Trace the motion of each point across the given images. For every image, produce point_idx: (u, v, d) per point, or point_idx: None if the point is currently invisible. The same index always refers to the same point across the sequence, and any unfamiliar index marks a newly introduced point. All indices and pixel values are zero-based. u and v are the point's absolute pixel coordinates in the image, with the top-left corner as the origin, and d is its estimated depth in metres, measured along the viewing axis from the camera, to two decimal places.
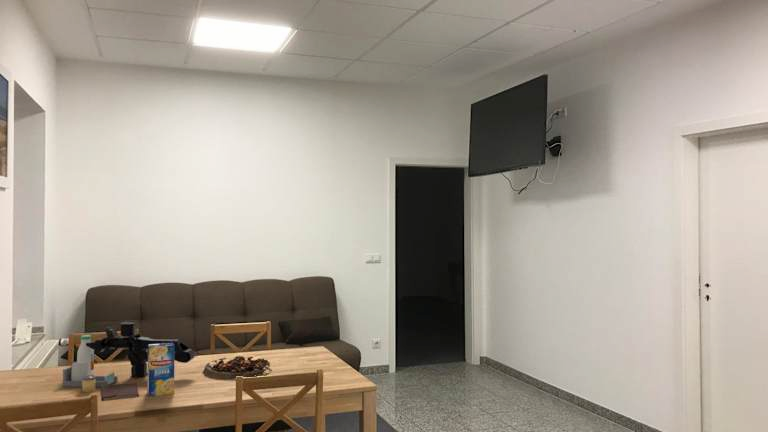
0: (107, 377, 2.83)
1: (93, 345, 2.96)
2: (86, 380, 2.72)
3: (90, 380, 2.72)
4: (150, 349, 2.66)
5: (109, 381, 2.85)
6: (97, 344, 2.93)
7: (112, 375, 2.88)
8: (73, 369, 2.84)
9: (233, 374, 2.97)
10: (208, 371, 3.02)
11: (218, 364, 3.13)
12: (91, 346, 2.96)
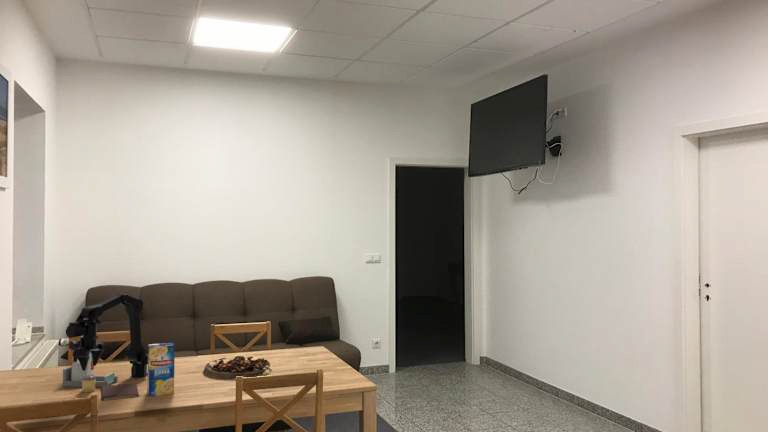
0: (107, 377, 2.83)
1: (83, 361, 2.69)
2: (86, 380, 2.72)
3: (90, 380, 2.72)
4: (150, 349, 2.66)
5: (109, 381, 2.85)
6: (76, 354, 2.66)
7: (112, 375, 2.88)
8: (73, 369, 2.84)
9: (233, 374, 2.96)
10: (208, 371, 3.02)
11: (218, 364, 3.13)
12: (84, 363, 2.69)
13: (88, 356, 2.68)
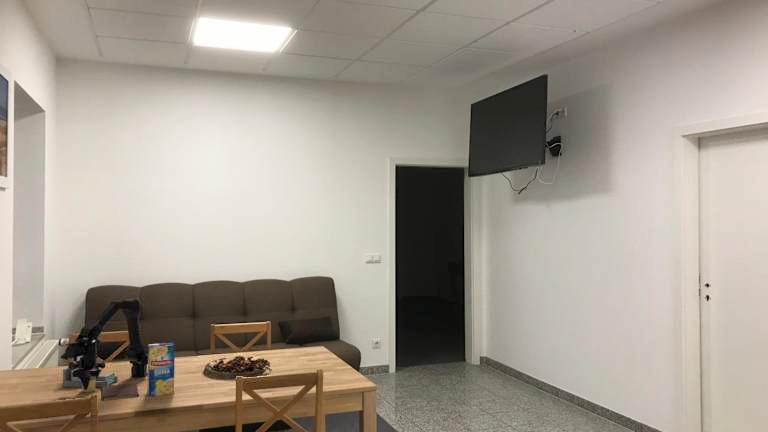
0: (107, 377, 2.83)
1: (84, 380, 2.71)
2: None
3: (90, 380, 2.72)
4: (150, 349, 2.66)
5: (109, 381, 2.85)
6: (75, 374, 2.65)
7: (112, 375, 2.88)
8: None
9: (233, 374, 2.96)
10: (208, 371, 3.02)
11: (218, 364, 3.13)
12: (86, 382, 2.71)
13: (90, 375, 2.70)
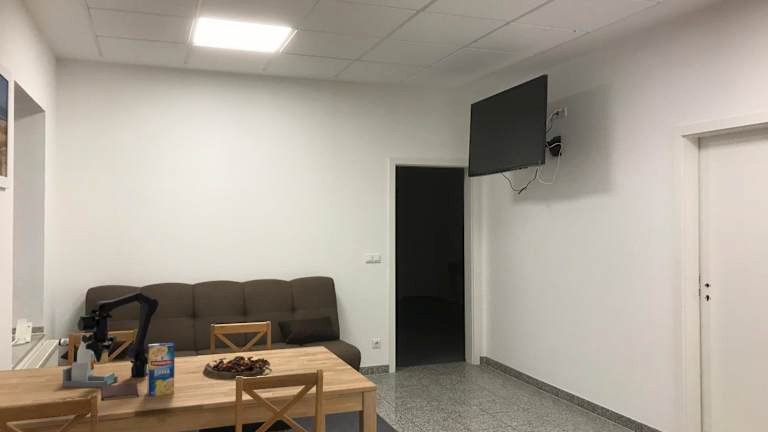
0: (107, 377, 2.83)
1: (97, 353, 2.82)
2: None
3: (102, 353, 2.83)
4: (150, 349, 2.66)
5: (109, 381, 2.85)
6: (89, 347, 2.76)
7: (112, 375, 2.88)
8: (73, 369, 2.84)
9: (233, 374, 2.96)
10: (208, 371, 3.01)
11: (218, 364, 3.13)
12: (98, 355, 2.82)
13: (102, 348, 2.81)
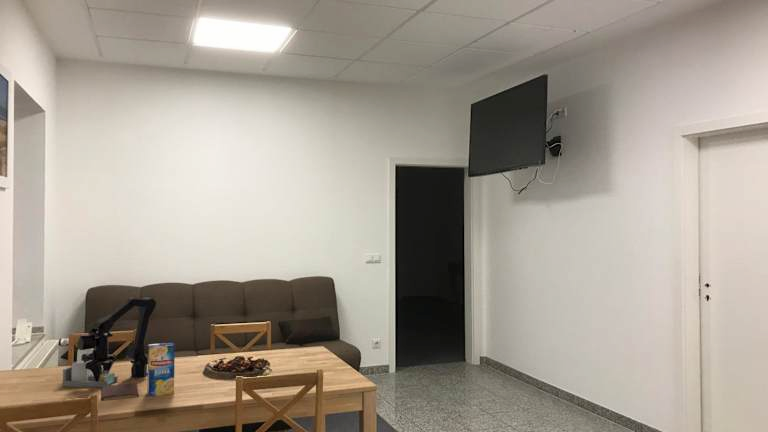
0: (107, 377, 2.83)
1: (96, 372, 2.81)
2: None
3: (102, 374, 2.83)
4: (150, 349, 2.66)
5: (109, 381, 2.85)
6: (89, 366, 2.76)
7: (112, 375, 2.88)
8: (73, 369, 2.84)
9: (233, 374, 2.96)
10: (208, 371, 3.01)
11: (218, 364, 3.13)
12: (97, 374, 2.80)
13: (101, 368, 2.80)
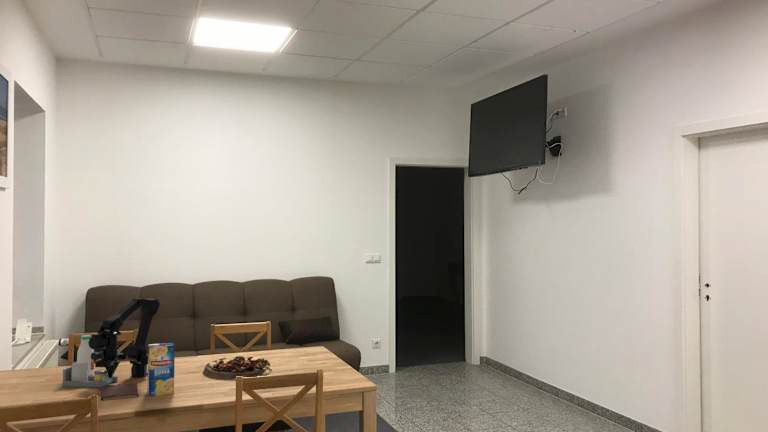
0: (105, 377, 2.83)
1: (109, 369, 2.84)
2: (98, 374, 2.83)
3: (102, 374, 2.83)
4: (150, 349, 2.66)
5: (108, 381, 2.85)
6: (98, 365, 2.76)
7: None
8: (73, 369, 2.84)
9: (233, 374, 2.96)
10: (208, 371, 3.01)
11: (218, 364, 3.13)
12: (110, 371, 2.84)
13: (114, 364, 2.83)
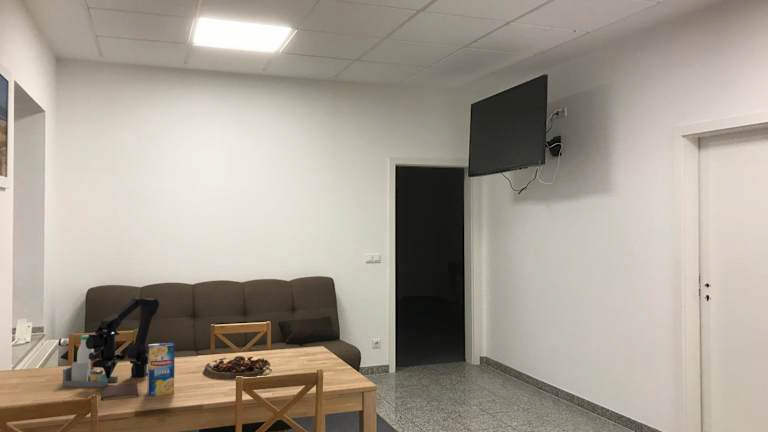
0: (101, 377, 2.83)
1: (107, 369, 2.84)
2: (94, 374, 2.83)
3: (98, 374, 2.84)
4: (150, 349, 2.66)
5: None
6: (96, 365, 2.76)
7: None
8: (73, 369, 2.84)
9: (233, 374, 2.96)
10: (208, 371, 3.01)
11: (218, 364, 3.13)
12: (108, 371, 2.84)
13: (112, 364, 2.83)
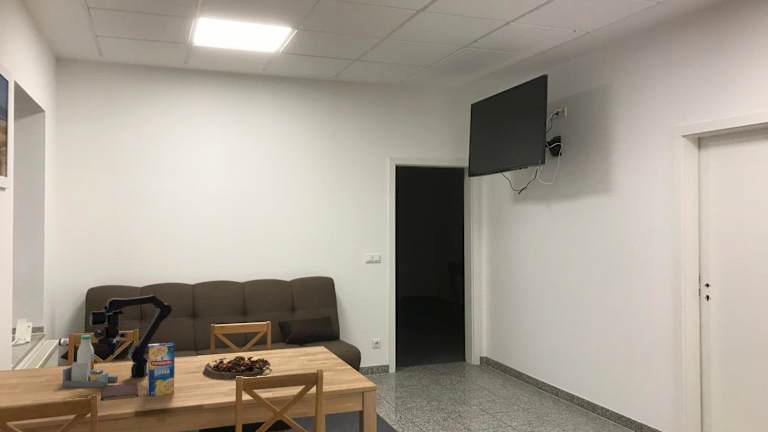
0: (101, 377, 2.83)
1: (111, 347, 2.92)
2: (94, 374, 2.83)
3: (98, 374, 2.84)
4: (150, 349, 2.66)
5: None
6: (101, 342, 2.84)
7: (106, 375, 2.88)
8: (73, 369, 2.84)
9: (233, 374, 2.96)
10: (208, 371, 3.01)
11: (218, 364, 3.13)
12: (112, 349, 2.92)
13: (116, 342, 2.92)
